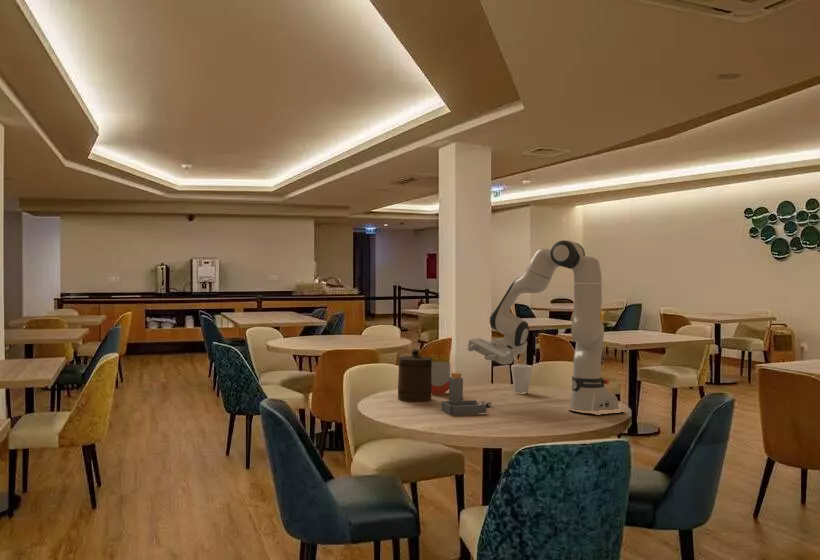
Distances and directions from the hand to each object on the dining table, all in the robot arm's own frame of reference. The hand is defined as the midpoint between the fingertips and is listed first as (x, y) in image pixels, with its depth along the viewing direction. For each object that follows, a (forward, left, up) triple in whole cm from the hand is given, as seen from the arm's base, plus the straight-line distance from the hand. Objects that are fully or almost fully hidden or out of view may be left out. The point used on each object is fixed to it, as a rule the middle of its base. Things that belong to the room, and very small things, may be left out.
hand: (477, 353), depth 287 cm
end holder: (+9, +7, -23) cm, 25 cm away
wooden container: (+20, -25, -23) cm, 39 cm away
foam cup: (-34, -30, -23) cm, 51 cm away
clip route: (-3, 0, -23) cm, 23 cm away
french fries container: (+5, -37, -23) cm, 43 cm away
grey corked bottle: (+8, -5, -23) cm, 24 cm away
